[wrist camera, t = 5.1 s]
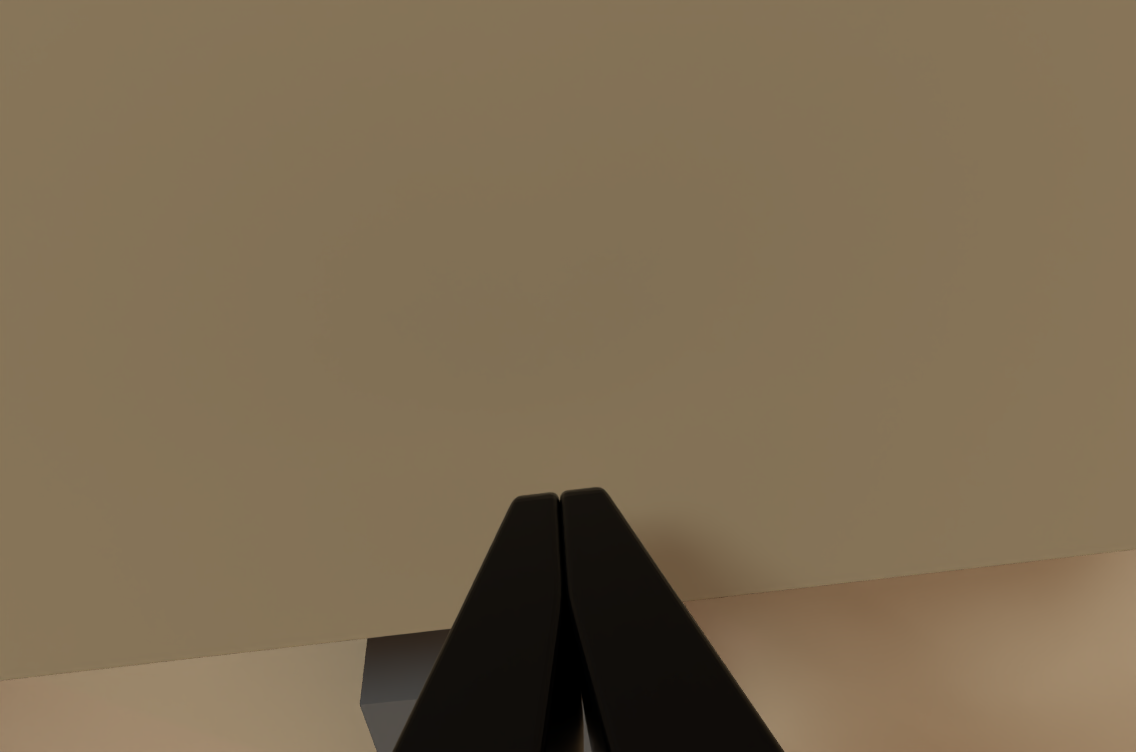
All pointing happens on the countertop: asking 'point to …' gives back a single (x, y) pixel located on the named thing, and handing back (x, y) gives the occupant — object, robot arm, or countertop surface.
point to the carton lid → (547, 301)
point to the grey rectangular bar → (400, 682)
